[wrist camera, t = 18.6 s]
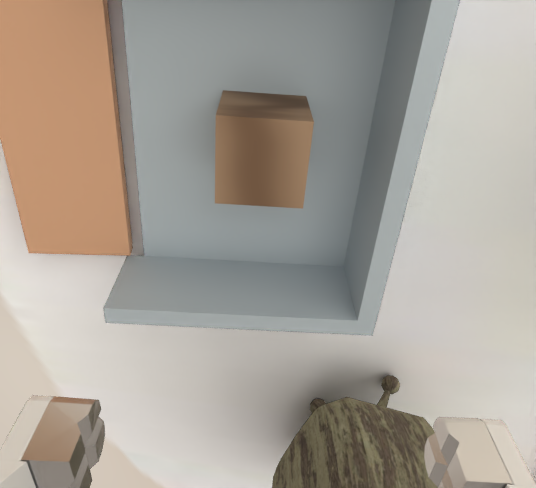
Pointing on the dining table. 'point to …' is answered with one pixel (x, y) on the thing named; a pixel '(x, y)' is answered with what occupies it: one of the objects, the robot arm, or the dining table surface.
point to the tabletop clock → (357, 447)
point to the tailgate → (63, 126)
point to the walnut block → (262, 149)
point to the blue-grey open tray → (319, 169)
